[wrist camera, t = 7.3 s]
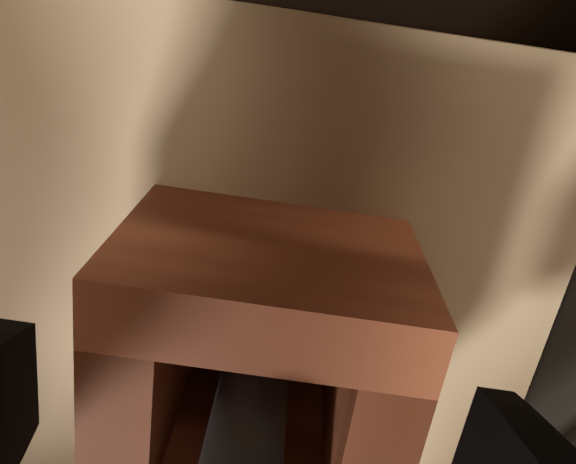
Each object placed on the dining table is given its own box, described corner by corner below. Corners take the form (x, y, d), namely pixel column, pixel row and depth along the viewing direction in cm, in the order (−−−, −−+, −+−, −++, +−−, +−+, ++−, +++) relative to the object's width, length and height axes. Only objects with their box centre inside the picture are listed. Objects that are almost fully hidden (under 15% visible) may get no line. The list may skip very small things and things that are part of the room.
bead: (145, 390, 13) (76, 550, 9) (154, 184, 11) (72, 278, 7) (360, 420, 13) (380, 591, 9) (409, 220, 11) (458, 332, 7)
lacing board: (28, 440, 15) (-156, 720, 9) (3, -35, 11) (-389, -86, 5) (453, 499, 16) (543, 811, 10) (608, 57, 11) (969, 122, 5)
